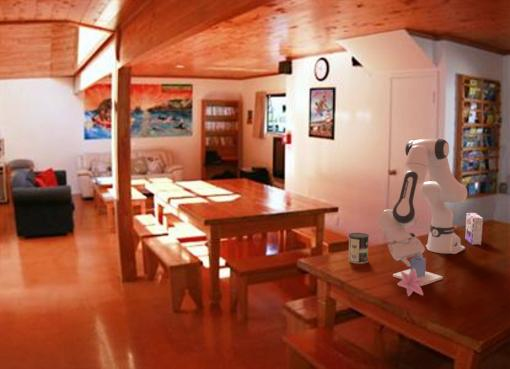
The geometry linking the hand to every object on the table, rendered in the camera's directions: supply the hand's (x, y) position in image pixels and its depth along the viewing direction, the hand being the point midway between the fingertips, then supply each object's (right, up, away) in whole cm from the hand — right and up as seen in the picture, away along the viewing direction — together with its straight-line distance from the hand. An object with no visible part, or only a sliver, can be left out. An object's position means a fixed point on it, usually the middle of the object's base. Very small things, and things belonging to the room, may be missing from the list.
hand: (416, 264), depth 232 cm
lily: (-9, -10, -19) cm, 23 cm away
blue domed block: (+1, -5, 0) cm, 5 cm away
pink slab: (0, -6, 0) cm, 7 cm away
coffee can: (-22, -3, +27) cm, 35 cm away
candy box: (+54, +3, +62) cm, 82 cm away
